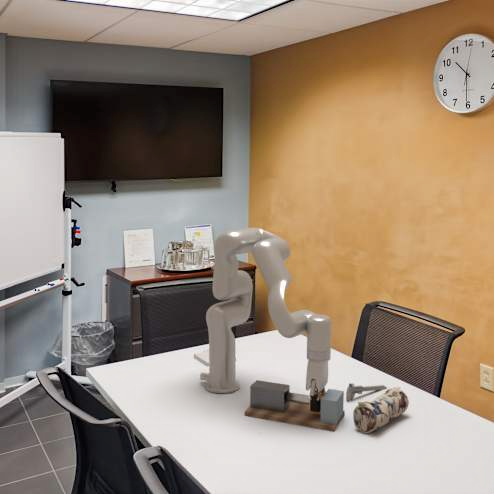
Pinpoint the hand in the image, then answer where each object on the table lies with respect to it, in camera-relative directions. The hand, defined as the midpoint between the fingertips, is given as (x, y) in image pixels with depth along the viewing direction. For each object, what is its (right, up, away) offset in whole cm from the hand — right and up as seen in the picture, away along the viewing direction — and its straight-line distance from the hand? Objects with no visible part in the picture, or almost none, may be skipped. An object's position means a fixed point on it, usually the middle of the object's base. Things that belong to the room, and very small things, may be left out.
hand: (317, 407), depth 201 cm
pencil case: (+20, -5, -1) cm, 21 cm away
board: (-7, -3, +3) cm, 9 cm away
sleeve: (-15, -1, +7) cm, 16 cm away
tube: (-3, -1, +2) cm, 4 cm away
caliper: (+20, -1, +21) cm, 29 cm away
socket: (+5, -3, -1) cm, 5 cm away
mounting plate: (-36, +5, +58) cm, 69 cm away
